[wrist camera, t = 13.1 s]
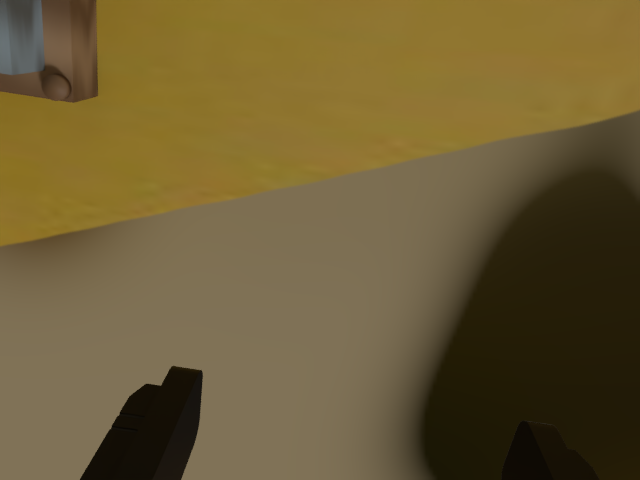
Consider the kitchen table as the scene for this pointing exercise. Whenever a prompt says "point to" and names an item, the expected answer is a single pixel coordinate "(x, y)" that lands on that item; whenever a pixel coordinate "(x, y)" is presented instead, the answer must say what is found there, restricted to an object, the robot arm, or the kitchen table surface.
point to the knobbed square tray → (49, 49)
